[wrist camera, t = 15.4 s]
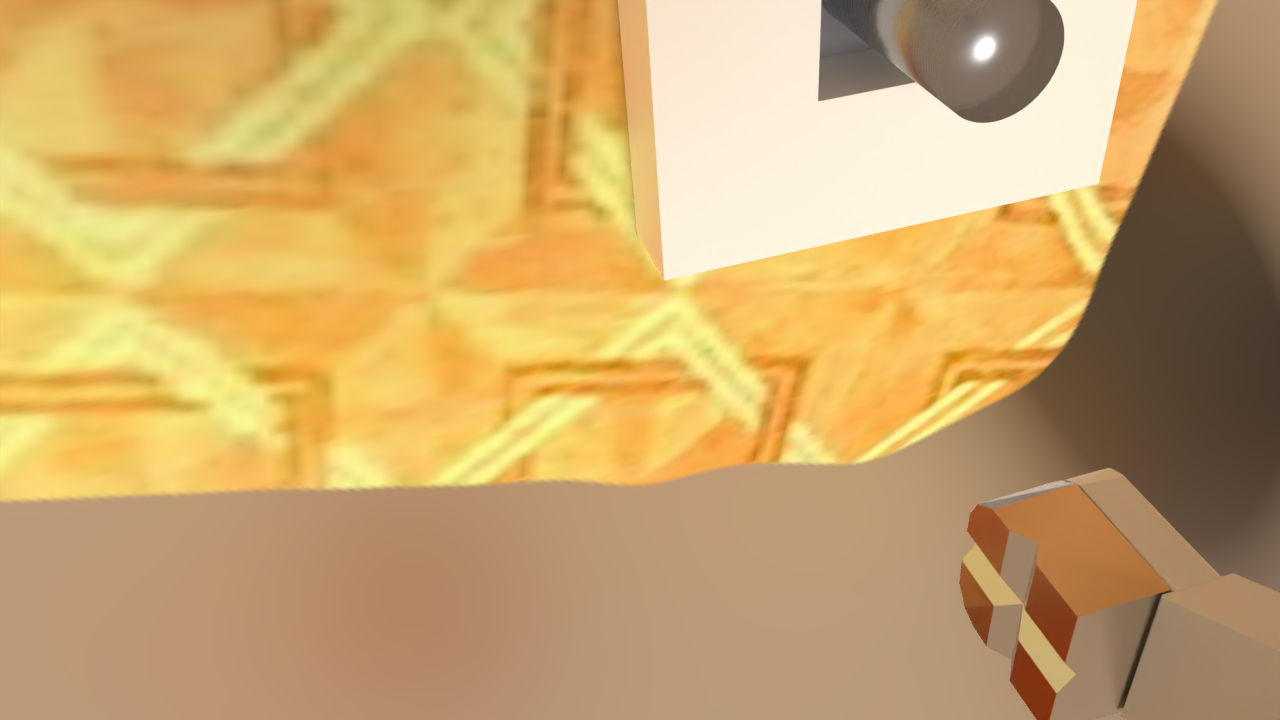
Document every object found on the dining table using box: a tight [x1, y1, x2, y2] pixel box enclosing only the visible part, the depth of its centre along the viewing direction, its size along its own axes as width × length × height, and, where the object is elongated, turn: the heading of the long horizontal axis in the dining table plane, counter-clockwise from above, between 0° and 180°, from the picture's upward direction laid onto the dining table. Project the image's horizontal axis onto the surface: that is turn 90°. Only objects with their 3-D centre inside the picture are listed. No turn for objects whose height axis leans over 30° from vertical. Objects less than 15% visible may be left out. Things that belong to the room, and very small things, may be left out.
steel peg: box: [821, 0, 1064, 123], centre depth 39 cm, size 4×4×10 cm
